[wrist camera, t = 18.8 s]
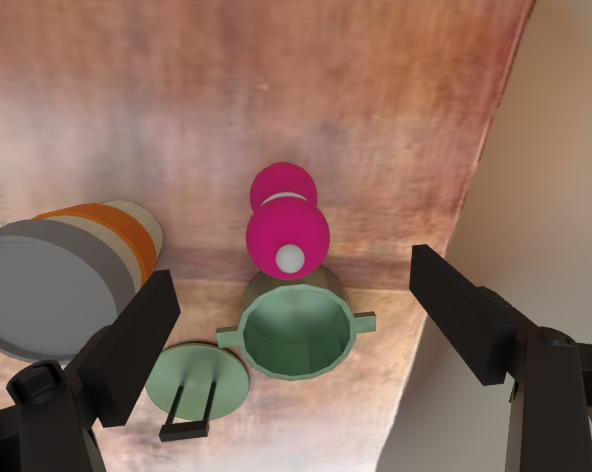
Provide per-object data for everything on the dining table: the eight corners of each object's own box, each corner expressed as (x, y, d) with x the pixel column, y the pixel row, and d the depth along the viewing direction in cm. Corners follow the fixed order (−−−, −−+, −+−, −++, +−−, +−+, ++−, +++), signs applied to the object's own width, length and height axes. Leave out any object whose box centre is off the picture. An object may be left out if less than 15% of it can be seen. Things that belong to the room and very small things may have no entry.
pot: (214, 267, 39) (203, 294, 33) (363, 252, 40) (379, 276, 34) (232, 351, 45) (226, 388, 39) (362, 337, 45) (376, 371, 39)
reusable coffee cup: (161, 291, 40) (101, 384, 26) (62, 257, 37) (-63, 341, 24) (191, 211, 36) (139, 270, 22) (83, 166, 33) (-53, 203, 20)
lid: (135, 346, 43) (102, 400, 35) (241, 334, 44) (233, 385, 36) (162, 419, 49) (139, 479, 41) (255, 408, 50) (251, 466, 41)
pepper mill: (320, 203, 37) (366, 291, 18) (267, 225, 38) (260, 331, 19) (299, 147, 34) (327, 185, 16) (242, 172, 35) (205, 235, 16)
